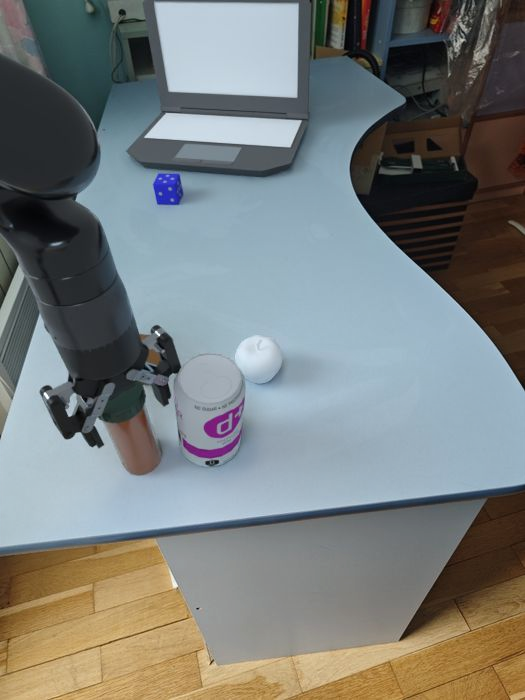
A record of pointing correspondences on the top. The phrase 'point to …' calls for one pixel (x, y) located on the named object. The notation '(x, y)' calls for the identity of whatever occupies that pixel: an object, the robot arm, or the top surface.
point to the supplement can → (209, 408)
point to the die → (168, 188)
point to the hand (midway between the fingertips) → (131, 420)
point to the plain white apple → (259, 358)
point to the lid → (124, 405)
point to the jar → (136, 443)
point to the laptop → (227, 85)
